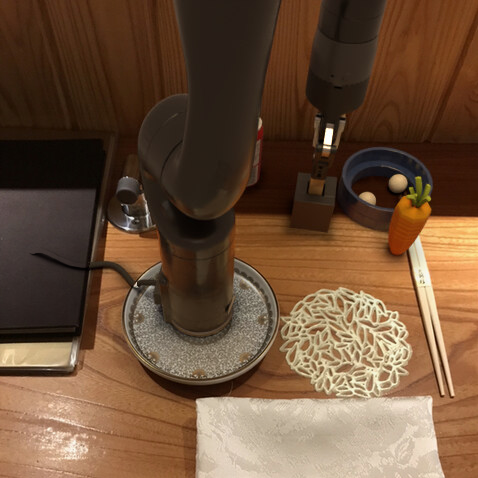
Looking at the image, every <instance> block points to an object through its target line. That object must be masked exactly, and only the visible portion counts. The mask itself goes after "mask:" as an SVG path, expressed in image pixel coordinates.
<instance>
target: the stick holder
mask: <svg viewBox="0 0 478 478" xmlns="http://www.w3.org/2000/svg"><path fill="white" fill-rule="evenodd" d="M310 178H311V173H306V172H300V171H298V173H297V179H296V183H295V191H294V197H293V202H292V203H293V205H292V209H291V217H290V224H289V228H291V229H298V230H306V231H313V232H319V233H326V234H327V233H329V229H330V226H331V221H332V217H333V215H334V210H335V204H336V196H337V183H338V177H336V176H329V175H327V177H326V179H325V181H324V186H323V190H322V195H321V196H319V195H312V194H308V189H309V184H310Z"/></svg>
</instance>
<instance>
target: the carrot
mask: <svg viewBox="0 0 478 478" xmlns="http://www.w3.org/2000/svg"><path fill="white" fill-rule="evenodd" d="M415 183H416V194H415V192H414V188H413V187H409V190H410V193H411V195H410V193H409V194H406V195H404V196H402V197H401V198H400V200H399V201H398V203H397V204H396V205H395V206H394V209H395V210H394V213H393V216H392V219H391V222H390V226H389V232H388V236H387V237H388V238H387V241H388V246H389V250H390V252H391V254H392V255H395V256H399V255H402V254H404V253H405V252H406V251H408V250H409V249H410V248H411V247H412V245H413V244H414V243H415V241H416V240H417V239H418V237H419V236H420V235H421V232H422V231H423V229H424V227H425V226H426V224H427V222H428V221H429V218H430V216H431V214H432V207H431V206H430V204H429V202H430V201H431V200H432V198H431V195H430V196H428V194H429V192H430V189H431V186H430V185H429V184H426V186H425V189H424V192H423V195H422V197H421V194H422V181H421V177H415Z"/></svg>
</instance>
